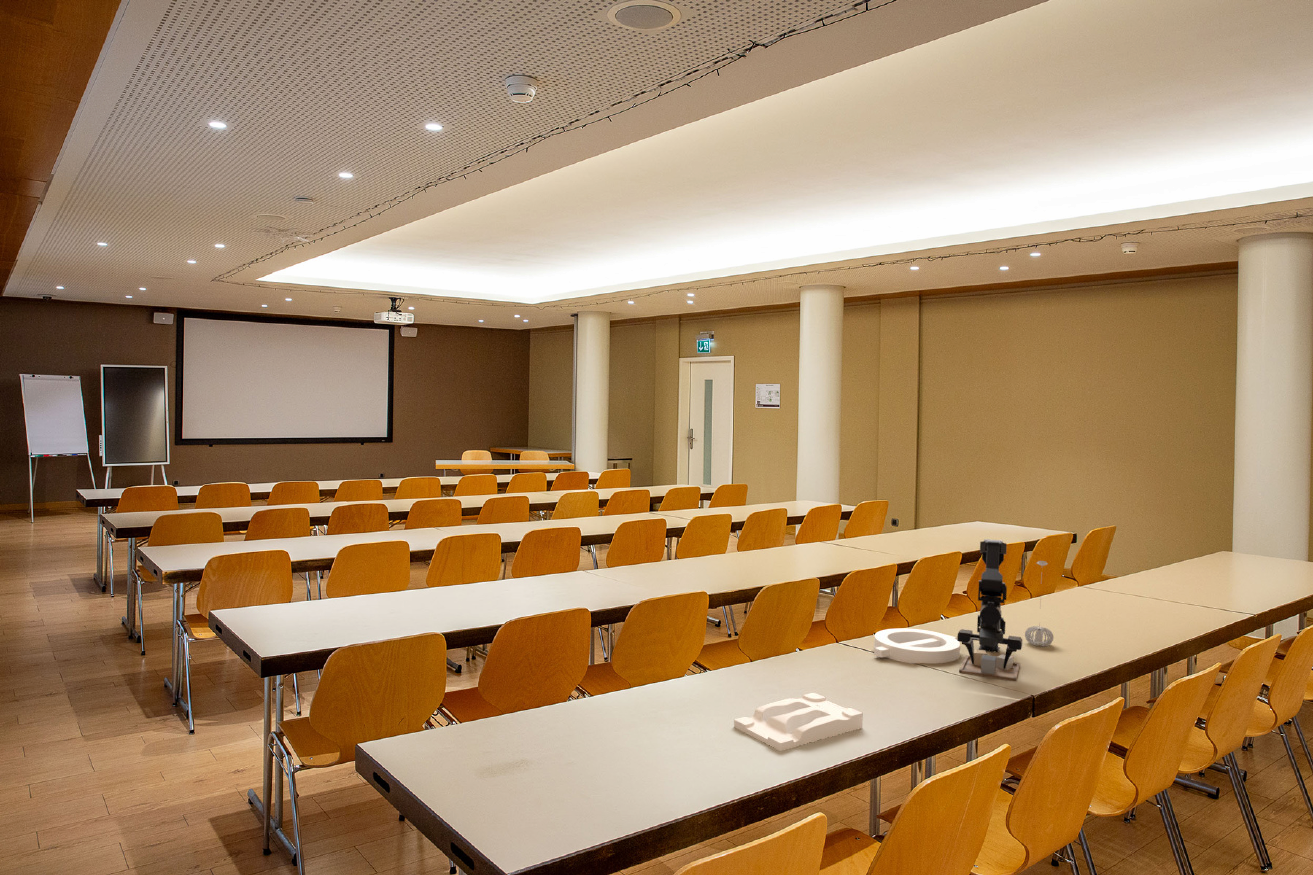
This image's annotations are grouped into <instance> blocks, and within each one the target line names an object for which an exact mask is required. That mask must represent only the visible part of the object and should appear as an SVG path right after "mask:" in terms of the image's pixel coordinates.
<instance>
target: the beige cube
mask: <svg viewBox="0 0 1313 875" xmlns="http://www.w3.org/2000/svg"><path fill="white" fill-rule="evenodd" d="M1004 659H1005V654H1003V653H1002V654H999V655H998V656H996V668H1000V669H1003V667H1004ZM1013 662H1014V656H1012V655H1010V657H1009V659H1008V662H1007V665H1006V667H1005V669H1004V670H1008V669H1011V668H1013Z"/></svg>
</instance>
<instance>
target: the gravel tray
mask: <svg viewBox="0 0 1313 875" xmlns="http://www.w3.org/2000/svg"><path fill="white" fill-rule="evenodd" d="M1020 667H1021V663H1019V662H1014V661H1013V668H1011V669H1008V670H1004V669H1000V668H996V673H995V675H992V674H985V673H981V666H980V665H972V664H971V662H970V655H965V658H964V659H963V661H962V663H961V665H960V667H959V670H958V673H960V674H967V675H972V676H980V677H986V678H992V679H997V680H998V679H1000V680H1005V681H1012V682H1017V678H1018V675H1019V671H1020Z"/></svg>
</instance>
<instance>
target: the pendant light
mask: <svg viewBox="0 0 1313 875" xmlns="http://www.w3.org/2000/svg"><path fill="white" fill-rule="evenodd" d="M1036 564H1037V565H1039V566H1041V567H1044V566H1047V565H1048V564H1049V563H1047V561H1044V560H1038V561H1037V562H1036ZM1042 575H1043V573H1041V580H1040V583H1042V579H1043V577H1042ZM1041 600H1042V598H1040V601H1039V602H1040V603H1039V605H1040V606H1039V608H1041V605H1042V604H1041V602H1042V601H1041ZM1034 633H1035V635H1034ZM1024 637H1025V639H1026V641H1027V642H1028V643H1029V644H1030V645H1033V646H1036V647H1047V646H1049V645H1051V644H1052V643H1053V641H1054V634H1053V632H1052V631H1051V630H1050V629H1049V628H1047V627H1043V626H1041V623H1039V626H1037V625H1034V626H1030V627H1028V628H1027V629H1025V632H1024ZM1043 639H1044V640H1043Z"/></svg>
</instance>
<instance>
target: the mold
mask: <svg viewBox="0 0 1313 875" xmlns="http://www.w3.org/2000/svg"><path fill="white" fill-rule="evenodd" d="M863 719H864V718H863V712H861V711H858V710H856V709H854V708H851V707H848V708H845V707H843V706H842V705H841V706H840V705H838V704H836V703H834V702H831V701H829V700H827V699H826V697H825V696H823V695H821V694H818V693H816V692H811V693H806V694H803V695H802V697H801V698H792V697H789V698H785V699H781V700H778V701H773V702H771V703H767V704H764V705H761V706H759V707H757V708H756V709H755V711H754V714H753V715H752V716H751V717H748V716H743V717H738V718H735V719H733V728H735V729H737V730H738V731H741V732H743V733H745V734H747V735H749V736H751V737H752V738H754V739H756V740H758V741H760V742H762V743H763V742H765V743H766V745H767V746H769V745H770V746H769V747H771V746H772V747H771V748H773V747H775V748H776V749H775V748H774V749H775V750H777V751H778V750H780V751H779V752H782V751H781V750H784V751H787V750H789V749H788V748H791V749H793V748H792V747H794V748H797V747H796V746H798V747H800V746H799V745H801V746H804V745H803V744H805V745H807V743H808V744H810V743H809V742H812V743H815V742H818V741H817V740H819V739H822V740H825V738H826V739H828V738H827V737H829V738H832V736H833V737H836V736H839V735H838V734H840V735H842V733H843V734H846V733H845V732H847V733H849V732H848V731H850V732H853V730H854V731H857V730H859V729H858V728H861V729H863ZM856 729H857V730H856ZM835 735H836V736H835ZM814 741H815V742H814ZM819 741H820V740H819ZM765 743H764V744H765ZM786 749H787V750H786Z"/></svg>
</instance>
